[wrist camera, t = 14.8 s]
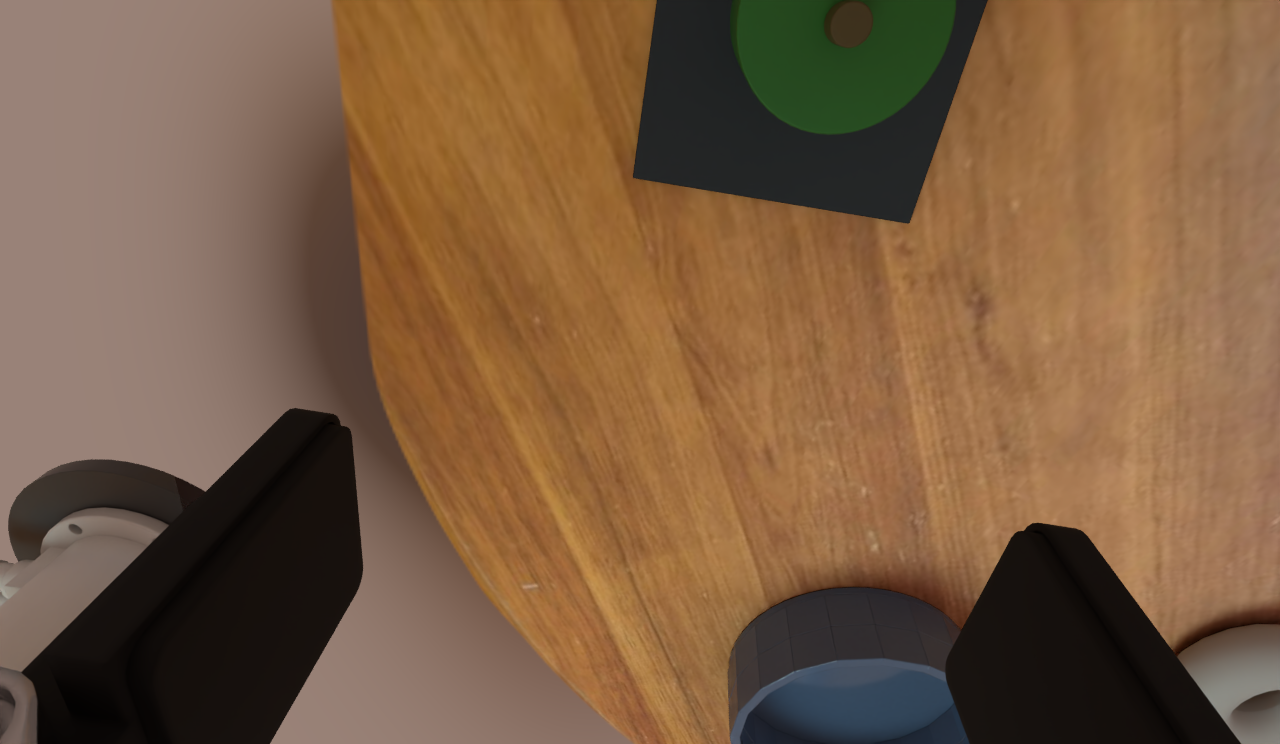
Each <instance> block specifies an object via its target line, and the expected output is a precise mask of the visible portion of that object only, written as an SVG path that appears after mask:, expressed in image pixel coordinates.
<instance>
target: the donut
mask: <svg viewBox="0 0 1280 744" xmlns="http://www.w3.org/2000/svg"><path fill="white" fill-rule="evenodd" d="M1177 658H1178V659H1179V660H1180V662H1181V663H1182V664H1183V666H1184V667H1185V668H1186V670H1187V671H1188V673H1189V674H1190V675H1191V677H1192V678H1193V679H1194V681H1195V682H1196V683H1197V685H1198V686H1199V687H1200V689H1201V690H1202V691H1203V693H1204V694H1205V695H1206V697H1207V698H1208V700H1209V701H1210V702H1211V704H1212V705H1213V706H1214V708H1215V709H1216V710H1217V712H1218V713H1219V714H1220V716H1221V717H1222V718H1223V720H1224V721H1225V722H1226V724H1227V725H1228V727H1229V728H1230V729H1231V731H1232V732H1233V733H1234V735H1235V736H1236V737H1237V739H1238V740H1239V741H1240V743H1241V744H1280V624H1253V625H1248V626H1242V627H1236V628H1230V629H1227V630H1224V631H1221V632H1219V633H1216V634H1213V635H1210V636H1208V637H1205V638H1203V639H1201V640H1199V641H1198V642H1196V643H1194V644H1193V645H1191V646H1189V647H1188V648H1186V649H1184V650H1183V651H1182V652H1181V653H1180V654H1179V655H1178V656H1177Z"/></svg>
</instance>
